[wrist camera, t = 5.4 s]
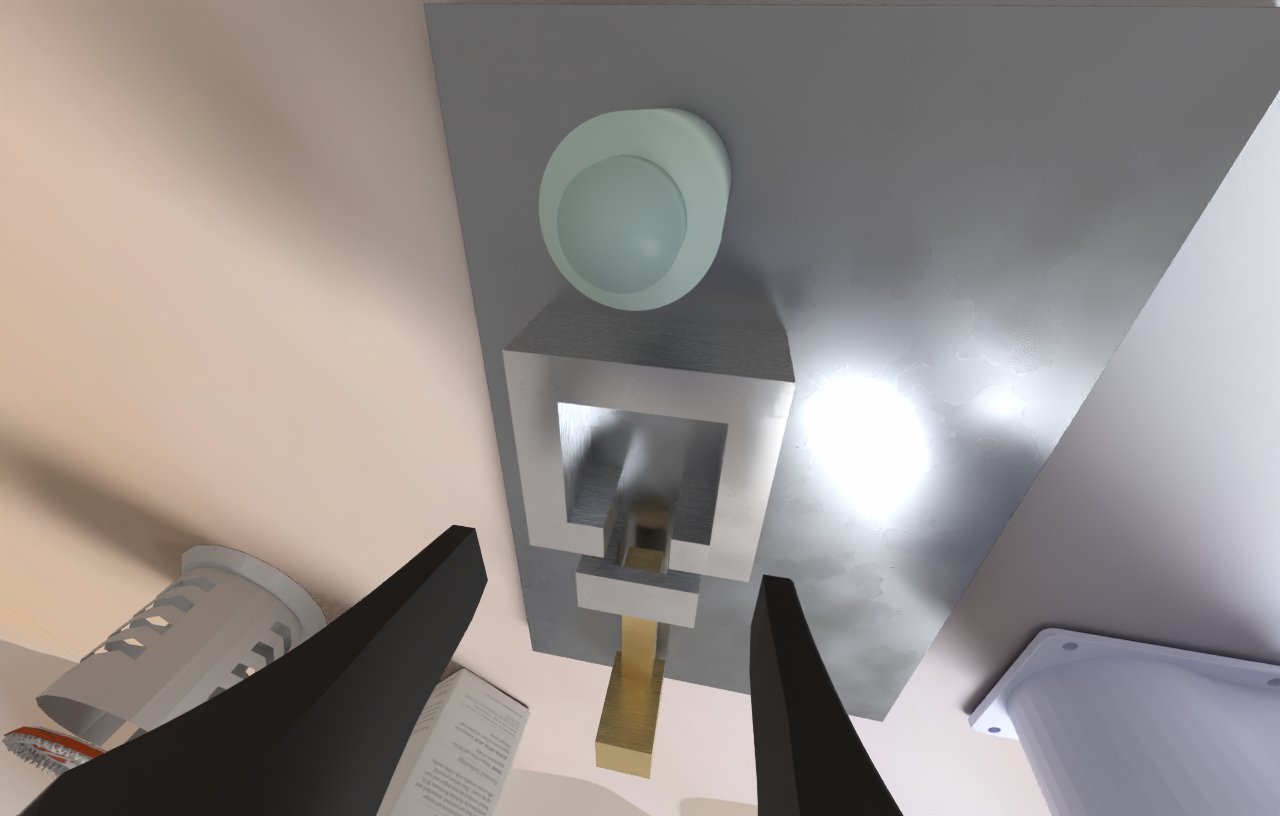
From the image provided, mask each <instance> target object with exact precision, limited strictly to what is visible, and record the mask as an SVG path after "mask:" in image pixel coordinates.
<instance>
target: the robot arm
mask: <svg viewBox="0 0 1280 816" xmlns="http://www.w3.org/2000/svg"><path fill="white" fill-rule="evenodd" d="M487 581H488V579H487V575H486V571H485V566H484V562H483V558H482V554H481V550H480V546H479V542H478V538H477V533H476V529H475V528H470V527H464V526H458V525H452V526H451V527H450V528H449V529H447V530H446V531H445V532H444V533H442V534H441V535H440V536H439V537H438V538H436V539H435V540H434V541H433V542H432V543H431V544H429V545H428V546H427V547H426V548H425V549H423V550H422V551H421V552H420V553H419V554H417V555H416V556H415V557H414V558H413V559H412V560H410V561H409V562H408V563H407V564H406V565H404V566H403V567H402V568H401V569H399V570H398V571H397V572H396V573H395V574H393V575H392V576H391V577H390V578H388V579H387V580H386V581H385V582H383V583H382V584H381V585H380V586H379V587H377V588H376V589H375V590H374V591H372V592H371V593H370V594H368V595H367V596H366V597H365V598H363V599H362V600H361V601H359V602H358V603H357V604H355V605H354V606H353V607H351V608H350V609H349V610H347V611H346V612H345V613H343V614H342V615H341V616H339V617H338V618H337V619H335V620H334V621H333V622H331V623H330V624H329V625H327V626H326V627H324V628H323V629H321V630H320V631H319V632H317V633H316V634H314V635H313V636H311V637H310V638H309V639H307V640H306V641H304V642H303V643H301V644H300V645H298V646H297V647H295V648H294V649H292V650H291V651H289V652H288V653H286V654H285V655H283V656H281V657H280V658H278V659H277V660H275V661H273V662H272V663H270V664H269V665H267V666H265V667H264V668H262V669H260V670H259V671H257V672H255V673H254V674H252V675H250V676H249V677H247V678H245V679H244V680H242V681H240V682H239V683H237V684H235V685H234V686H232V687H230V688H229V689H227V690H225V691H224V692H222V693H220V694H218V695H217V696H215V697H213V698H211V699H209V700H208V701H206V702H204V703H202V704H200V705H198V706H197V707H195V708H193V709H191V710H189V711H187V712H186V713H184V714H182V715H180V716H178V717H176V718H174V719H172V720H170V721H168V722H166V723H165V724H163V725H161V726H159V727H157V728H155V729H153V730H151V731H149V732H147V733H145V734H143V735H141V736H139V737H137V738H135V739H133V740H131V741H129V742H127V743H125V744H122V745H120V746H118V747H116V748H114V749H112V750H110V751H108V752H106V753H104V754H102V755H99V756H97V757H95V758H93V759H91V760H89V761H87V762H85V763H83V764H81V765H79V766H76V767H74V768H72V769H70V770H68V771H65V772H64V773H63V774H61V775H60V776H59V777H58V778H57V779H56V780H55V781H54V782H53V783H52V784H51V785H50V786H49V787H48V788H47V789H46V790H45V791H44V792H43V793H42V794H41V795H40V796H39V797H38V798H37V799H36V800H35V801H34V802H33V803H32V804H31V805H30V806H29V807H28V808H27V809H26V810H25V811H24V812H23V813H22V814H21V815H20V816H376V815H377V813H378V810H379V808H380V805H381V803H382V801H383V798H384V796H385V793H386V791H387V789H388V786H389V784H390V781H391V779H392V777H393V774H394V772H395V770H396V767H397V765H398V763H399V760H400V758H401V756H402V754H403V751H404V749H405V747H406V745H407V742H408V740H409V738H410V736H411V733H412V731H413V729H414V727H415V725H416V723H417V721H418V719H419V717H420V715H421V713H422V711H423V709H424V707H425V705H426V703H427V701H428V700H429V698H430V696H431V694H432V692H433V690H434V689H435V687H436V685H437V683H438V681H439V680H440V678H441V676H442V674H443V672H444V670H445V669H446V667H447V665H448V663H449V661H450V659H451V658H452V656H453V654H454V652H455V650H456V649H457V647H458V645H459V643H460V641H461V639H462V637H463V636H464V634H465V632H466V630H467V628H468V626H469V624H470V622H471V621H472V618H473V616H474V614H475V611H476V609H477V606H478V604H479V602H480V599H481V597H482V594H483V591H484V589H485V586H486V584H487ZM749 674H750V689H751V704H752V718H753V732H754V746H755V760H756V774H757V795H758V816H903V814H902V812H901V811H900V809H899V807H898V806H897V804H896V802H895V801H894V799H893V797H892V796H891V794H890V792H889V791H888V789H887V787H886V785H885V784H884V782H883V780H882V778H881V777H880V775H879V773H878V771H877V770H876V768H875V766H874V764H873V762H872V761H871V759H870V757H869V755H868V753H867V751H866V750H865V748H864V746H863V744H862V742H861V740H860V738H859V736H858V734H857V733H856V731H855V729H854V727H853V725H852V723H851V721H850V719H849V717H848V715H847V713H846V711H845V709H844V707H843V705H842V703H841V700H840V698H839V696H838V694H837V692H836V690H835V688H834V686H833V683H832V681H831V679H830V677H829V674H828V672H827V670H826V668H825V665H824V663H823V661H822V658H821V656H820V654H819V651H818V649H817V647H816V644H815V642H814V639H813V637H812V634H811V632H810V629H809V626H808V624H807V621H806V618H805V616H804V613H803V610H802V607H801V604H800V601H799V598H798V595H797V592H796V588H795V585H794V582H793V581H792V580H791V579H790V578H783V577H777V576H771V575H765V574H763V577H762V581H761V585H760V589H759V594H758V598H757V602H756V606H755V610H754V614H753V619H752V623H751V629H750V666H749ZM968 721H969V724H970V727H971V729H973V730H974V731H977V732H980V733H985V734H990V735H995V736H1000V737H1005V738H1010V739H1015V740H1020V743H1021V745H1022V747H1023V750H1024V752H1025V754H1026V757H1027V759H1028V761H1029V764H1030V766H1031V768H1032V770H1033V773H1034V775H1035V777H1036V780H1037V782H1038V784H1039V787H1040V789H1041V791H1042V794H1043V796H1044V798H1045V801H1046V803H1047V805H1048V808H1049V810H1050V812H1051V815H1052V816H1280V666H1276V665H1270V664H1265V663H1259V662H1253V661H1247V660H1241V659H1235V658H1229V657H1223V656H1217V655H1211V654H1205V653H1199V652H1193V651H1188V650H1182V649H1176V648H1170V647H1164V646H1158V645H1152V644H1146V643H1140V642H1134V641H1128V640H1122V639H1116V638H1111V637H1105V636H1099V635H1093V634H1087V633H1081V632H1075V631H1069V630H1063V629H1057V628H1049V629H1044V630H1042V631H1041V632H1039V633H1038V634H1037V636H1036V637H1035V638H1034V639H1033V640H1032V642H1031V643H1030V644H1029V645H1028V647H1027V648H1026V649H1025V650H1024V651H1023V653H1022V654H1021V655H1020V656H1019V657H1018V659H1017V660H1016V661H1015V662H1014V664H1013V665H1012V666H1011V667H1010V668H1009V670H1008V671H1007V672H1006V673H1005V674H1004V676H1003V677H1002V678H1001V679H1000V681H999V682H998V683H997V684H996V685H995V687H994V688H993V689H992V690H991V691H990V693H989V694H988V695H987V696H986V697H985V699H984V700H983V701H982V702H981V704H980V705H979V706H978V707H977V708H976V710H975V711H974V712H973V713H972V714H971V716H970V717H969V719H968Z"/></svg>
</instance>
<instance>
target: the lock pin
mask: <svg viewBox="0 0 1280 816" xmlns="http://www.w3.org/2000/svg"><path fill="white" fill-rule="evenodd" d="M663 554H664V552H662V551H656V550H650V549H644V548H638V547H632V546H629V548H628V552H627V556H626V559H625V563H624V567H629V568H635V569H640V570H646V571H652V572H658V573H662V567H663ZM657 629H658V622H657V621H651V620H646V619H641V618H635V617H630V616H625V615H622V652H620V651H616V656H615V660H614V664H613V668H612V673H611V677H610V681H609V685H608V690H607V694H606V698H605V702H604V707H603V711H602V715H601V719H600V724H599V728H598V732H597V736H596V741H595V746H596V766H597V767H601V768H605V769H609V770H614V771H618V772H622V773H626V774H631V775H635V776H639V777H643V778H648V779H650V773H651V766H652V759H653V752H654V745H655V738H656V731H657V724H658V717H659V710H660V702H661V695H662V688H663V679H664V669H665V660H661V659H656V658H655V654H656V641H657Z"/></svg>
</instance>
